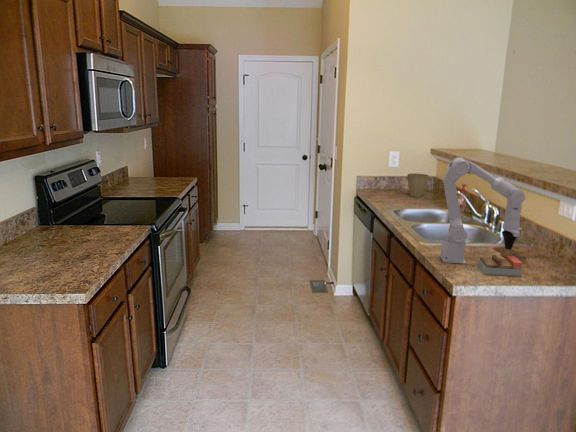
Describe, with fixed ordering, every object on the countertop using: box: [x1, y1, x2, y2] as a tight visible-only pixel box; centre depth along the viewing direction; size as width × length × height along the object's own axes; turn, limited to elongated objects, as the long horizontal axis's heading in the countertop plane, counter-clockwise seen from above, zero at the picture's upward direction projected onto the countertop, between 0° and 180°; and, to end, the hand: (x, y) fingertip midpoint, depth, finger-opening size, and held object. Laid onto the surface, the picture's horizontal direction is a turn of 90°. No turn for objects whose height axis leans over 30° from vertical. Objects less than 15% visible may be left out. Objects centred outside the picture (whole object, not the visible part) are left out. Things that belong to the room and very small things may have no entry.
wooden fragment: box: [492, 245, 530, 266], centre depth 205 cm, size 26×11×1 cm, turn 177°
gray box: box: [477, 259, 523, 278], centre depth 184 cm, size 14×9×3 cm, turn 83°
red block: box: [505, 256, 523, 270], centre depth 183 cm, size 3×9×3 cm, turn 173°
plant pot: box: [407, 172, 430, 198], centre depth 333 cm, size 15×15×16 cm
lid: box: [479, 254, 513, 269], centre depth 183 cm, size 10×9×2 cm
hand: (508, 248), depth 191 cm, fingers closed
